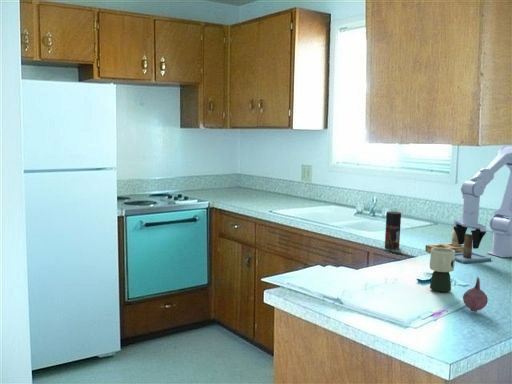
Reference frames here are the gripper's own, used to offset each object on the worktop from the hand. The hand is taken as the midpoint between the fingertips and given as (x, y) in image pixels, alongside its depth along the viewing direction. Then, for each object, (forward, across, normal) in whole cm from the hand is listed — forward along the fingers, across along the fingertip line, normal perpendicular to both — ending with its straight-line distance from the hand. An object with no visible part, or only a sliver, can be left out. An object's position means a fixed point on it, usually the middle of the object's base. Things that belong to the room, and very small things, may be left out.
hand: (468, 246), depth 208 cm
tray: (+5, 0, 0) cm, 5 cm away
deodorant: (+5, -25, -17) cm, 31 cm away
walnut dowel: (+4, 0, 0) cm, 4 cm away
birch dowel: (+5, -12, +5) cm, 14 cm away
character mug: (+5, +30, -40) cm, 50 cm away
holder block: (+5, -12, +1) cm, 13 cm away
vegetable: (+5, +49, -45) cm, 67 cm away
